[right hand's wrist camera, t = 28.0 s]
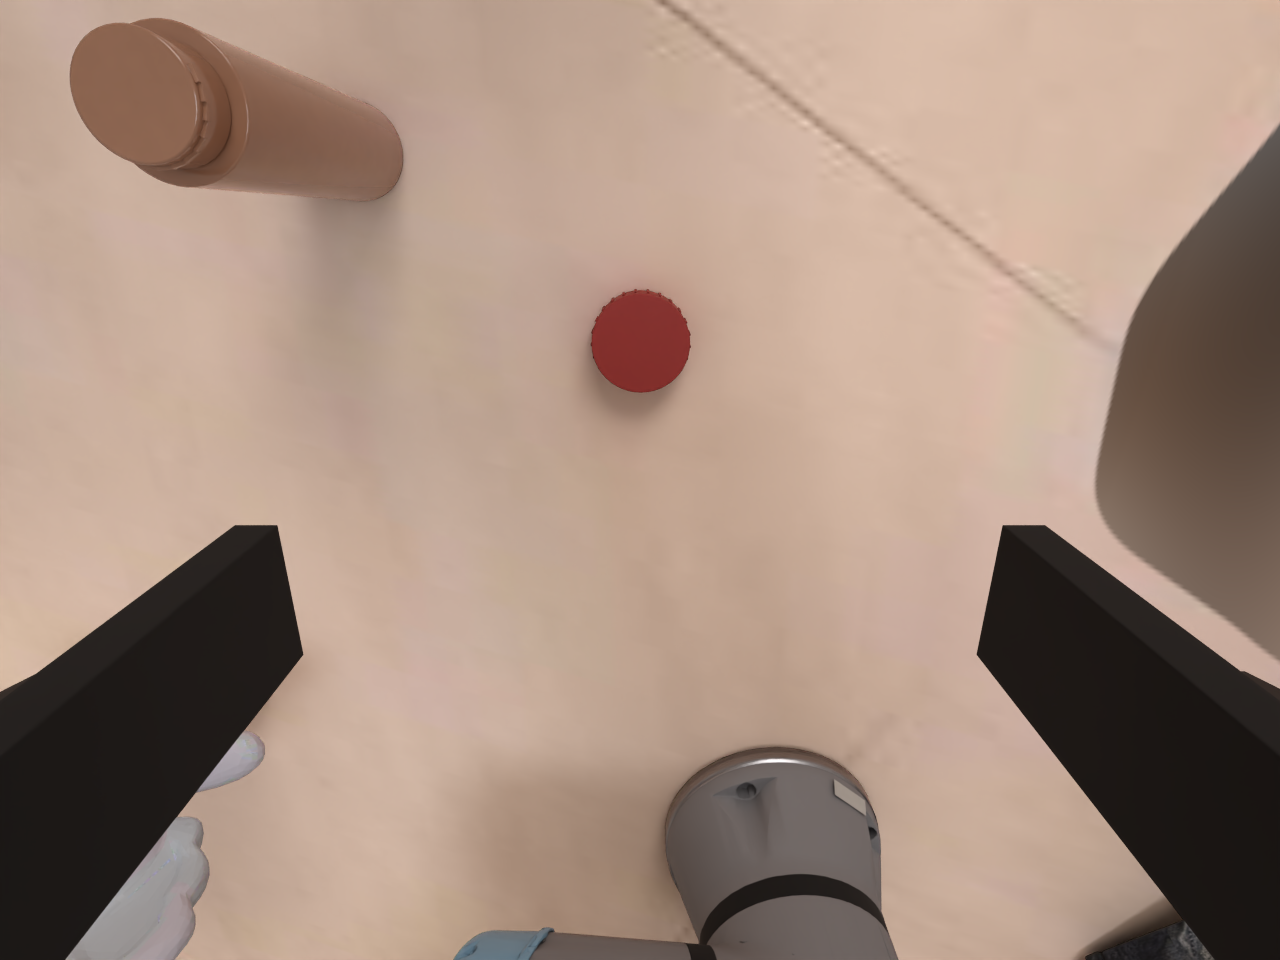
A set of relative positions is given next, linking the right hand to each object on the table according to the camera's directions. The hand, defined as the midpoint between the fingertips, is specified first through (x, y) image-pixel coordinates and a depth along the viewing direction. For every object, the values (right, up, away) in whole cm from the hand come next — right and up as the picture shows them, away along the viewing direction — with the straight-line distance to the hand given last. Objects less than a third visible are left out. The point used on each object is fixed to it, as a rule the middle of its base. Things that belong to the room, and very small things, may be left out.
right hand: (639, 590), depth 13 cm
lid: (0, +9, +24) cm, 26 cm away
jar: (-14, +19, +22) cm, 33 cm away
